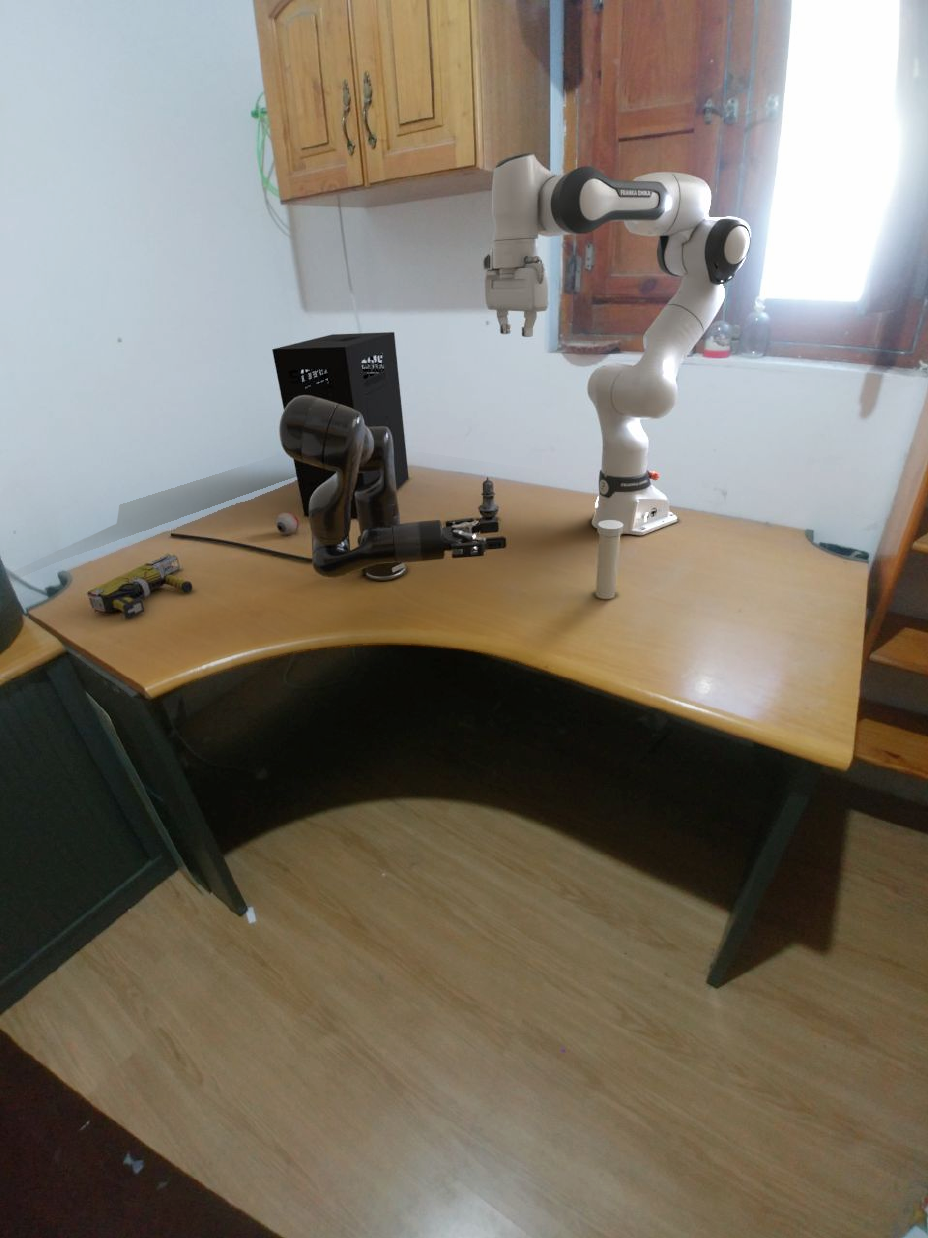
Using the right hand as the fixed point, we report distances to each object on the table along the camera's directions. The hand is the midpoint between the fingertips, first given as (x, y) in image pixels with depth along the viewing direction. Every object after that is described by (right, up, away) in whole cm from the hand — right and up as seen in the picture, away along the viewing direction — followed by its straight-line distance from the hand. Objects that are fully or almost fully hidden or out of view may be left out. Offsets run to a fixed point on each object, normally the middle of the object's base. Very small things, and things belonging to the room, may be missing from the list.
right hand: (516, 335), depth 125 cm
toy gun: (-81, -53, +12) cm, 97 cm away
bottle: (+19, -54, +1) cm, 57 cm away
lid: (+18, -41, -7) cm, 45 cm away
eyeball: (-59, -36, +40) cm, 80 cm away
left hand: (-3, -43, -9) cm, 44 cm away
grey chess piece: (-4, -32, +42) cm, 52 cm away
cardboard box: (-44, -20, +66) cm, 82 cm away
